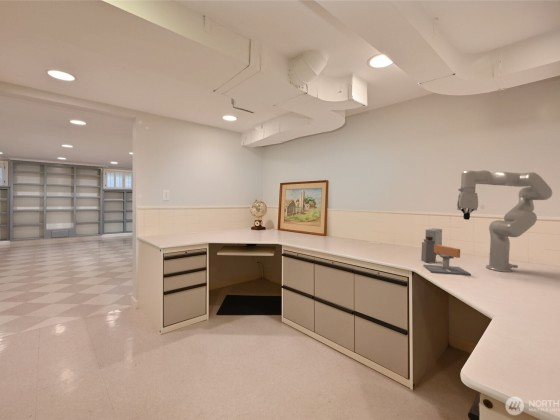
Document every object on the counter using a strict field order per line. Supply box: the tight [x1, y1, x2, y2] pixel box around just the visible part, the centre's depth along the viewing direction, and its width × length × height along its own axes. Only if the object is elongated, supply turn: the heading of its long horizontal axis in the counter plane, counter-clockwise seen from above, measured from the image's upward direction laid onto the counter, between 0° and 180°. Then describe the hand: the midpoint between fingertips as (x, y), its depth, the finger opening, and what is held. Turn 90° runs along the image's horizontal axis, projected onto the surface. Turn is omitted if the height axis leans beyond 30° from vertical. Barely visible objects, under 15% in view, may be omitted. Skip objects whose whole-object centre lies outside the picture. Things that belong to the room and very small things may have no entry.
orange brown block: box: [434, 244, 461, 259], centre depth 161 cm, size 16×6×7 cm, turn 17°
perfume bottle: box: [420, 236, 437, 264], centre depth 184 cm, size 7×7×18 cm
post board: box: [422, 258, 472, 276], centre depth 162 cm, size 21×16×8 cm
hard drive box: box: [424, 227, 443, 255], centre depth 214 cm, size 16×8×20 cm, turn 130°
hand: (466, 219), depth 164 cm, fingers closed
